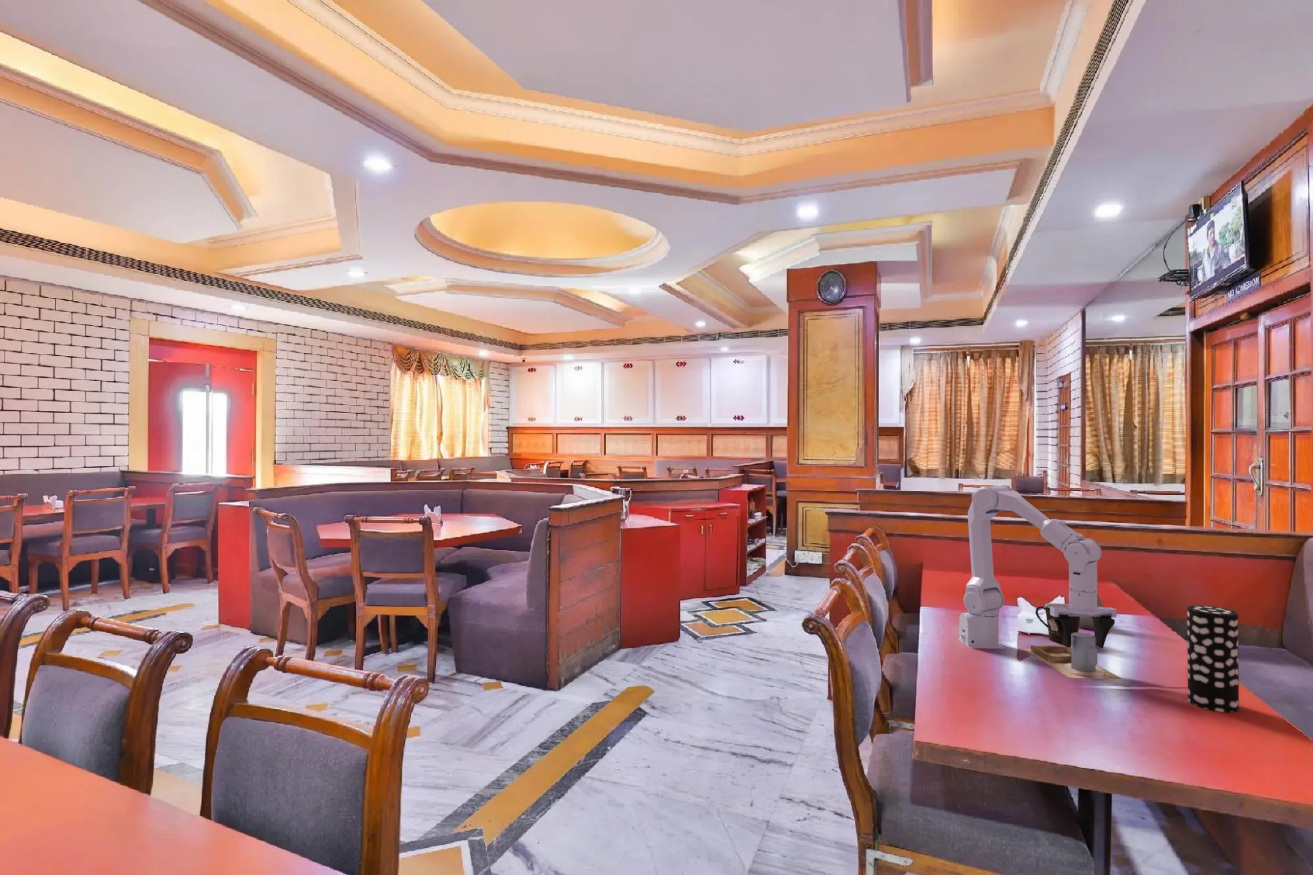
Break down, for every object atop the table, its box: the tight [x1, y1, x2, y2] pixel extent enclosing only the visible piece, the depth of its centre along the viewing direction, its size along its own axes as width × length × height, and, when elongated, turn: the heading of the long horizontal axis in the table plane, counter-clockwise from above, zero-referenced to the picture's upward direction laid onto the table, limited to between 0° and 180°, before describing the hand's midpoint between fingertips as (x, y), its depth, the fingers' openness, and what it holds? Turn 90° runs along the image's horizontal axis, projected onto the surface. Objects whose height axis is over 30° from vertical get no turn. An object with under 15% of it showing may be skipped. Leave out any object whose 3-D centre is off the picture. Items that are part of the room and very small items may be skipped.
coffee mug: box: [1035, 602, 1080, 645], centre depth 187 cm, size 12×9×10 cm
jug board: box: [1022, 644, 1123, 680], centre depth 167 cm, size 12×22×2 cm, turn 178°
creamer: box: [1071, 632, 1098, 672], centre depth 160 cm, size 7×5×8 cm
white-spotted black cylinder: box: [1186, 604, 1240, 713], centre depth 142 cm, size 8×8×20 cm
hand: (1082, 646), depth 161 cm, fingers open, 7 cm apart
